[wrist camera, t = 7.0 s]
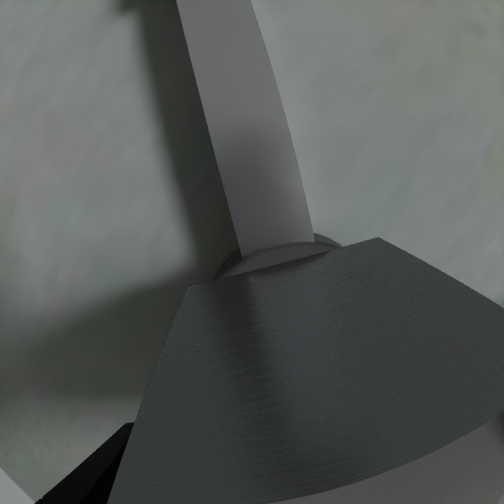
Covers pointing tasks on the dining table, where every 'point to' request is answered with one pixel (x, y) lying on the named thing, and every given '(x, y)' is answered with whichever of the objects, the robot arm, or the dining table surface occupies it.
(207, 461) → the grey bevelled cube
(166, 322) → the dining table surface
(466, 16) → the dining table surface
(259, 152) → the ratchet
